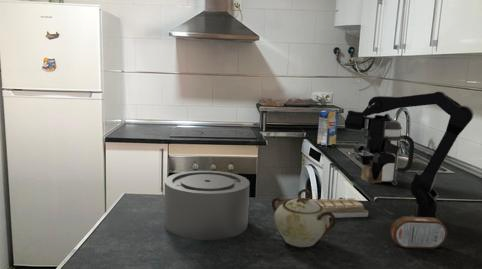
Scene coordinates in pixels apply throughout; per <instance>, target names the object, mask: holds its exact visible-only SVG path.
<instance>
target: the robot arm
mask: <svg viewBox="0 0 482 269" xmlns="http://www.w3.org/2000/svg"><path fill="white" fill-rule="evenodd" d="M431 105H436V106H438V107H439V108H440V109H441V110H442V111H444V112H445V113H446V114H447V115H449V119H448V122H447V126H446V130H445V132H444V134H443V136H442V138H441V139H440V141H439V143H438V145H437V147H436V148H435V151H434V152H433V153H432V156H431V158H430V159H429V161H428V163H427V165H426V166H425V168H424V170H423V171H421V170H420V169H418V170H417V171H416V172H415V174H414V177H413V180H412V181H411V182H410V183H409V185H410V188H409V190H410V193H411V195H412V196H413V197H414V198H415V208H414V214H413V215H410V217H431V218H436V217H437V210H438V204H437V202H436V201H437V200H438V198H439V196H440V195H439V193H438V192H437V190H435V189H434V188H433V187H434V184H435V183H436V182H435V181H436V178H437V174H438V172H439V170H440V168H441V167H442V164H444V161H445V160H446V158H447V156H448V154H450V151H451V150H452V147H453V145H454V144H455V142H456V140H457V138H458V136H460V134H461V133H462V132H463V130H464V129H465V128H466V127H468V125H469V123H470V122H471V121H472V120H473V118H474V115H475V114H474V111H473V109H472V108H471V107H470V106H469V105H462V104H460V102H459V103H458V101H456V100H454V99H453V98H451V97H450V96H449V95H447V94H446V93H445V92H443V91H440V90H439V91H435V92H430V93H423V94H414V95H406V96H390V95H389V96H386V95H378V96H373V97H372V98H371V97H370V99H369V101H368V104H367V107H366V108H364V110H362V111H355V110H352V109H351V110H348V111H347V115H346V117H345V120H344V129H345V130H347V131H355V132H357V131H358V132H364V129H365V130H366V129H367V130H366V131H367V132H366V134H364V136H363V138H364V139H365V140H366V142H365V143H364V144H362V143H356V144H355V145H354V147H353V148H354V149H353V152H354V153H356V154H357V156H358V157H359V161H360V162H361V165H368V164H370V165H371V170H372V176H373V179H374V180H377V178H378V176H379V174H380V172H381V170H382V168H383V166H384V165H386V164H389V163H395V161H396V157H395V156H394V155H397V153H398V154H399V152H398V151H400V148H401V147H400V145H399V146H396V145H394V144H391V141H390V140H388V139H387V137H384V136H385V126H386V121H392V120H394V119H393V118H392V117H391V115H390V114H389V113H386V112H389V111H393V110H397V109H402V108H411V107H421V106H431ZM382 113H385V114H386V115H385V114H383V115H382ZM372 115H374V116H373V117H372ZM389 115H390V116H389ZM388 152H389V153H388ZM393 154H394V155H393ZM436 219H437V218H436Z"/></svg>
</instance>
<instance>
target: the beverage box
mask: <svg viewBox="0 0 482 269" xmlns="http://www.w3.org/2000/svg"><path fill="white" fill-rule="evenodd" d="M318 114H319V116H318V129H317V140H316V142H317V143H316V145H317V144H321V145H326V146H327V145H332V144H337V131H338V120H339V119H338V118H339V111H337V110H321V111H319V113H318Z"/></svg>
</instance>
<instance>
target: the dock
mask: <svg viewBox="0 0 482 269" xmlns="http://www.w3.org/2000/svg"><path fill="white" fill-rule="evenodd" d="M328 212H332V213H333V215H334V216H335V219H336V218H366V217H369V210H366V209H364V210H360V211H328ZM328 217H329V219H330V218H331V217H330V216H329V215H328ZM331 219H332V218H331Z"/></svg>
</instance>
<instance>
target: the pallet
mask: <svg viewBox="0 0 482 269" xmlns="http://www.w3.org/2000/svg"><path fill="white" fill-rule="evenodd" d="M310 200H311V201H313V202H316V203H318V204H320V205H321V206H322V207H323V209H324V210H325V211H360V210H365V206H364V204H362V203H361V202H359V201H358V199H357V200H356V199H355V198H337V199H336V198H328V199H327V198H319V200H318V198H314V199H313V198H312V199H311V198H310Z"/></svg>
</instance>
